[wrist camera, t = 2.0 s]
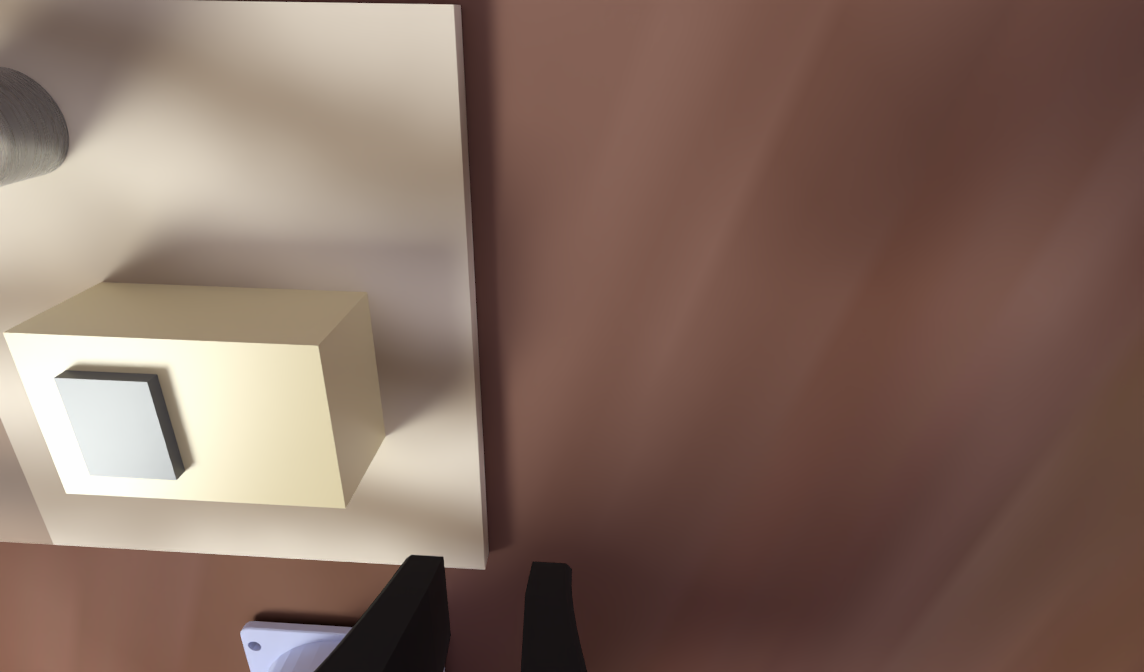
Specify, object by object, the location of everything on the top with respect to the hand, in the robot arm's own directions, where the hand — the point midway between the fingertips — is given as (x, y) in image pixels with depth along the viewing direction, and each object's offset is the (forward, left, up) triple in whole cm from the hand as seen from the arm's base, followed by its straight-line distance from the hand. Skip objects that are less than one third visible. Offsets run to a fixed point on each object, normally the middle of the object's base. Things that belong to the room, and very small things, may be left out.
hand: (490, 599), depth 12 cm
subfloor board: (+1, +15, -9) cm, 18 cm away
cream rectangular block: (0, +9, -9) cm, 12 cm away
